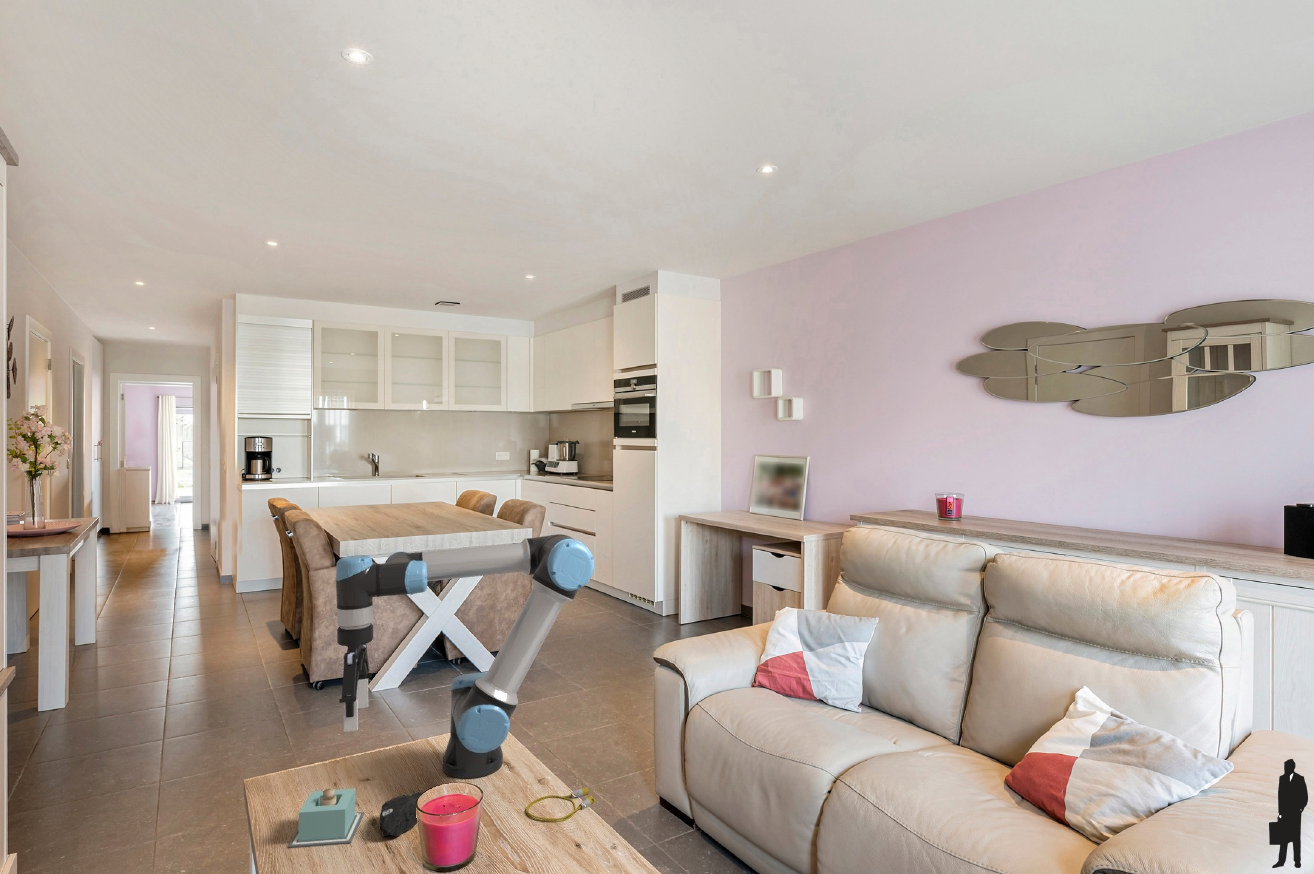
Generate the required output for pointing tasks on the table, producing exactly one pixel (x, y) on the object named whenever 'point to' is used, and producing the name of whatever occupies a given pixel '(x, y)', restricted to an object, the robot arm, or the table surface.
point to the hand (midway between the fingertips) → (356, 718)
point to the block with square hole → (327, 816)
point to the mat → (345, 840)
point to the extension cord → (577, 793)
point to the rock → (398, 814)
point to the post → (328, 797)
